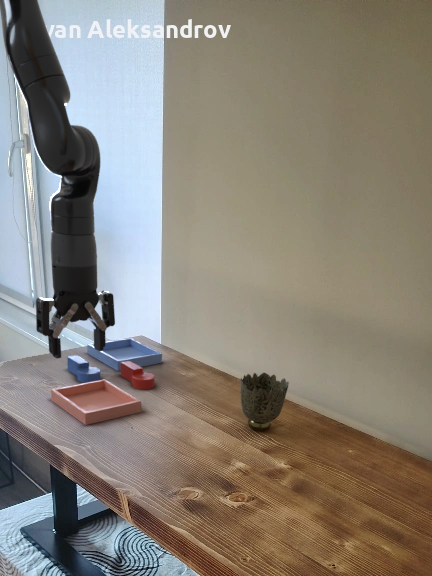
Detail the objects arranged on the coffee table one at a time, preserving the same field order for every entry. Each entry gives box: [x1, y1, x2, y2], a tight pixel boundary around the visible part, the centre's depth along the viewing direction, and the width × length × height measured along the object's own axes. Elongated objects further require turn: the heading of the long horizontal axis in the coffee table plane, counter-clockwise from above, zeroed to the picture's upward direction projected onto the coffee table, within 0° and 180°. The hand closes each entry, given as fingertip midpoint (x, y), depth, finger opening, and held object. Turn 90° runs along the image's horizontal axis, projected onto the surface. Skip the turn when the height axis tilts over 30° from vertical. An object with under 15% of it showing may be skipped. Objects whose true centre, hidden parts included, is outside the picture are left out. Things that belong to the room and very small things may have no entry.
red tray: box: [50, 378, 142, 426], centre depth 102 cm, size 11×10×2 cm
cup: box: [240, 372, 290, 432], centre depth 98 cm, size 8×7×8 cm
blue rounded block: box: [67, 354, 101, 384], centre depth 113 cm, size 8×4×3 cm, turn 40°
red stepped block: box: [120, 361, 156, 390], centre depth 113 cm, size 8×4×3 cm, turn 40°
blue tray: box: [87, 337, 163, 372], centre depth 124 cm, size 11×10×2 cm
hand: (78, 353), depth 113 cm, fingers open, 8 cm apart
